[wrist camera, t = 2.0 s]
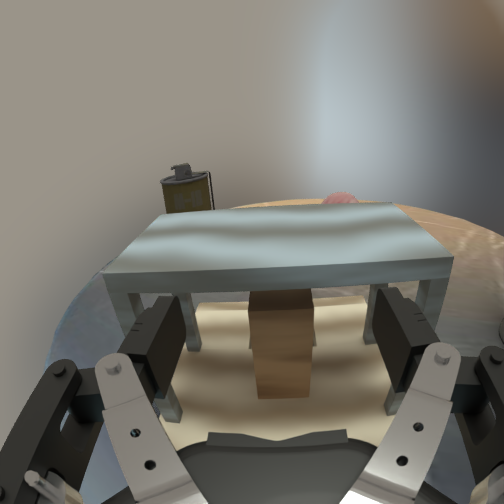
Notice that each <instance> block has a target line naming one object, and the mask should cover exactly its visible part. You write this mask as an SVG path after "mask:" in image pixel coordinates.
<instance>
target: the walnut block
mask: <svg viewBox="0 0 504 504" xmlns="http://www.w3.org/2000/svg"><path fill="white" fill-rule="evenodd" d="M248 318H249V327H250V336H251V344H252V353H253V361H254V370H255V378H256V386H257V394H258V399H286V398H306V397H309V392H310V380H311V365H312V349H313V330H314V304H313V299H312V293H311V288H308V289H289V290H267V291H250V297H249V305H248Z"/></svg>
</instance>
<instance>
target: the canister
mask: <svg viewBox="0 0 504 504" xmlns="http://www.w3.org/2000/svg"><path fill="white" fill-rule="evenodd" d="M171 169H172V170H173V169H175V175H173V176H169V177H166V178H164V179H162V180H161V181H160V183H161V184H162V189H163V195H164V201H165V207H166V212H167V214H173V213H184V212H195V211H208V210H211V202H210V195H209V186H208V178H207V176H208V173H206V172H209V171H203V172H192V171H191V167H190V165H189V164H188V163H185V164H181V165H175V166H173V167H171ZM209 178H210V186H211V194H212V202H213V210H215V208H214V200H213V191H212V183H211V175H210V172H209Z"/></svg>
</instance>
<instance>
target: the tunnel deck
mask: <svg viewBox="0 0 504 504" xmlns="http://www.w3.org/2000/svg"><path fill="white" fill-rule="evenodd" d="M453 259H454V256H453V255H452V254H451V253H450V252H449V251H448V250H447V249H446V248H445V247H443V246H442V245H441V244H440V243H439V242H438V241H437V240H436V239H435V238H433V237H432V236H431V235H430V234H429V233H428V232H427V231H425V230H424V229H423V228H422V227H421V226H420V225H418V224H417V223H416V222H415V221H414V220H412V219H411V218H410V217H409V216H408V215H406V214H405V213H404V212H403V211H402V210H400V209H399V208H398V207H397V206H395V205H394V204H393V203H392V202H377V203H334V204H307V205H286V206H267V207H250V208H235V209H221V210H208V211H195V212H184V213H173V214H163V215H160V216H159V217H158V218H157V219H156V220H155V221H154V222H153V223H152V224H151V225H150V226H148V227H147V229H145V230H144V231H143V232H142V233H141V234H140V235H139V236H138V237H137V238H136V239H135V240H134V241H133V242H132V243H131V244H130V245H129V246H128V247H127V248H126V249H125V250H124V251H123V252H122V253H121V254H120V255H119V256H118V257H117V258H116V259H115V260H114V261H113V263H112V264H111V265H110V266H109V267H108V268H107V269H106V270H105V271H104V272H103V273H102V274H103V278H104V281H105V284H106V287H107V290H108V293H109V295H110V298H111V301H112V304H113V307H114V309H115V312H116V315H117V317H118V320H119V323H120V325H121V328H122V330H123V333H124V335H125V338H126V336H127V334H128V333H129V331H130V329H131V328H132V326H133V325H134V323H135V321H136V319H137V318H138V316H139V314H141V313H142V312H143V311H144V307H143V304H142V301H141V298H140V294H139V293H172V295H173V296H177V297H178V298H179V301H180V305H181V309H182V313H183V317H184V321H185V325H186V340H185V344H184V347H183V350H182V353H181V356H180V358H179V361H178V364H177V367H176V370H175V373H174V376H173V379H172V382H170V385H169V388H168V391H167V394H166V397H165V399H157V398H154V401H155V403H156V405H157V407H158V409H159V411H160V413H161V414H160V417H159V420H160V422H161V423H162V425H163V427H164V429H165V431H166V433H167V435H168V436H169V438H170V440H171V442H172V444H173V445H174V447H175V449H176V450H177V451H178V450H180V449H181V448H184V447H186V446H188V445H191V444H194V443H198V442H202V441H207V437H208V432H219V433H242V434H246V435H250V436H255V437H259V438H264V439H269V440H274V441H280V440H284V439H288V438H292V437H296V436H300V435H304V434H307V433H311V432H319V431H330V430H340V429H346V430H347V436H348V438H354V439H359V440H362V441H366V442H368V443H371V444H373V445H375V446H377V447H378V446H379V444H380V443H381V441H382V439H383V437H384V436H385V434H386V432H387V430H388V428H389V427H390V425H391V423H392V421H393V419H394V417H395V415H396V413H397V411H398V409H399V407H400V405H401V403H402V401H403V399H404V397H405V395H406V393H405V392H400V393H395V392H394V389H393V386H392V383H391V381H390V378H389V375H388V372H387V369H386V367H385V364H384V361H383V358H382V356H381V353H380V350H379V348H378V345H377V342H376V340H375V337H374V335H373V330H372V319H373V313H374V307H375V301H376V294H377V291H378V289H379V288H388V283H394V282H406V281H417V280H420V282H419V287H418V292H417V296H416V301H415V303H416V304H417V305H418V306H419V308H420V309H421V311H422V313H423V314H424V316H425V317H426V319H427V321H428V322H429V324H430V325H431V327H432V329H433V330H434V331H435V328H436V325H437V322H438V318H439V315H440V312H441V308H442V305H443V301H444V297H445V293H446V290H447V286H448V282H449V277H450V273H451V269H452V264H453ZM369 284H370V292H369V299H368V306H367V304H366V302H365V299H364V297H363V295H362V296H349V297H334V298H319V299H313V304H314V330H313V349H312V365H311V380H310V392H309V397H306V398H286V399H258V394H257V386H256V378H255V370H254V361H253V353H252V344H251V336H250V327H249V318H248V305H249V302H221V303H199V305H198V308H197V311H196V313H195V311H194V307H193V302H192V298H191V293H204V292H240V291H267V290H289V289H308V288H325V287H341V286H356V285H369Z"/></svg>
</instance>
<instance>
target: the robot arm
mask: <svg viewBox="0 0 504 504" xmlns="http://www.w3.org/2000/svg"><path fill="white" fill-rule="evenodd" d="M372 330H373V335H374V337H375V340H376V342H377V345H378V348H379V350H380V353H381V356H382V358H383V361H384V364H385V367H386V369H387V372H388V375H389V378H390V381H391V383H392V386H393V389H394V392H395V393H400V392H405V393H406V395H405V397H404V399H403V401H402V403H401V405H400V407H399V409H398V411H397V413H396V415H395V417H394V419H393V421H392V423H391V425H390V427H389V428H388V430H387V432H386V434H385V436H384V437H383V439H382V441H381V443H380V444H379V446H378V447H377V446H375V445H373V444H371V443H368V442H366V441H362V440H359V439H354V438H348V436H347V430H346V429H340V430H330V431H319V432H311V433H307V434H304V435H300V436H296V437H292V438H288V439H284V440H280V441H274V440H269V439H264V438H259V437H255V436H250V435H246V434H242V433H219V432H208V437H207V441H202V442H198V443H194V444H191V445H188V446H186V447H184V448H181V449H180V450H178V451H177V450H176V449H175V447H174V445H173V444H172V442H171V440H170V438H169V436H168V435H167V433H166V431H165V429H164V427H163V425H162V423H161V422H160V420H159V418H158V416H157V414H156V412H155V410H154V408H153V406H152V403H153V400H154V398H157V399H165V397H166V394H167V391H168V388H169V385H170V382H171V380H172V377H173V374H174V371H175V368H176V365H177V363H178V360H179V357H180V354H181V351H182V349H183V346H184V343H185V340H186V325H185V321H184V317H183V313H182V309H181V305H180V301H179V298H178V297H177V296H159V297H158V298H157V300H156V302H155V304H154V305H153V307H152V308H147V309H146V310H144V311H143V312H142V313H141V314H139V316H138V318H137V319H136V321H135V323H134V325H133V326H132V328H131V329H130V331H129V333H128V334H127V336H126V338H125V339H124V341H123V343H122V344H121V346H120V348H119V350H118V351H117V353H113V354H109V355H107V356H105V357H103V358H102V359H101V360H99V362H98V363H97V364H96V367H95V368H88V369H79V370H78V368H77V367H76V365H75V363H74V362H73V361H71V360H68V359H62V360H58V361H56V362H54V363H53V364H51V365H50V366H49V367H48V368H47V370H46V371H45V373H44V375H43V376H42V378H41V379H40V381H39V383H38V384H37V386H36V388H35V389H34V391H33V393H32V394H31V396H30V398H29V400H28V401H27V403H26V405H25V406H24V408H23V410H22V412H21V413H20V415H19V417H18V419H17V421H16V422H15V424H14V426H13V428H12V430H11V432H10V434H9V436H8V437H7V439H6V441H5V443H4V446H3V447H2V450H1V451H0V504H83V500H82V497H81V495H80V493H79V490H80V487H81V484H82V481H83V478H84V475H85V472H86V469H87V466H88V463H89V460H90V457H91V454H92V452H93V449H94V446H95V443H96V441H97V438H98V435H99V433H100V430H101V427H102V425H103V422H104V421H105V424H106V427H107V430H108V433H109V436H110V439H111V442H112V445H113V448H114V451H115V453H116V456H117V459H118V461H119V464H120V466H121V469H122V471H123V474H124V476H125V478H126V481H127V483H128V485H129V486H127V487H126V488H124V489H123V490H121V491H120V492H118V493H117V494H115V495H114V496H112V497H111V498H109V499H108V500H106V501H105V502H103V503H101V504H457V503H456V502H454V501H452V500H451V499H449V498H448V497H447V496H445V495H444V494H442V493H441V492H439V491H438V490H436V489H435V488H433V487H432V486H430V485H429V484H428V483H426V482H425V481H423V480H424V478H425V476H426V474H427V472H428V470H429V467H430V465H431V463H432V460H433V458H434V456H435V453H436V451H437V448H438V446H439V443H440V440H441V438H442V435H443V432H444V429H445V427H446V424H447V421H448V418H449V415H450V413H454V414H455V417H456V419H457V422H458V425H459V428H460V431H461V434H462V437H463V440H464V444H465V447H466V450H467V453H468V457H469V460H470V464H471V468H472V471H473V475H474V479H475V483H476V486H475V488H474V489H473V491H472V494H471V498H470V503H469V504H504V350H503V349H501V348H499V347H496V346H488V347H485V348H484V349H483V350H482V351H481V353H480V355H479V357H463V356H460V354H459V352H458V351H457V349H456V348H454V347H453V346H451V345H449V344H447V343H441V342H440V340H439V338H438V337H437V335H436V333H435V332H434V330H433V329H432V327H431V325H430V324H429V322H428V321H427V319H426V317H425V316H424V314H423V313H422V311H421V309H420V308H419V306H418V305H417V304H416V303H414V302H413V301H412V300H410V299H409V298H403V296H402V294H401V293H400V291H399V290H398V288H397V287H390V288H379V289H378V291H377V294H376V301H375V307H374V313H373V319H372ZM499 332H500V336H501V339H502V340H503V342H504V318H503V321H502V323H501V326H500V329H499ZM489 402H491V405H492V407H493V409H494V411H495V414H496V420H495V418H494V415H493V413H492V411H491V408H490V406H489V404H488V403H489ZM66 411H68V412H69V415H68V418H67V420H66V422H65V424H64V426H63V428H62V431H61V432H60V424H61V422H62V420H63V417H64V415H65V413H66Z"/></svg>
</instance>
